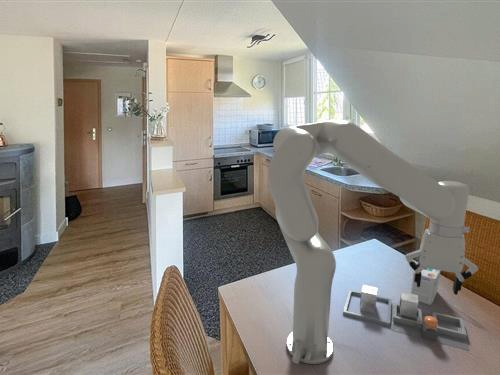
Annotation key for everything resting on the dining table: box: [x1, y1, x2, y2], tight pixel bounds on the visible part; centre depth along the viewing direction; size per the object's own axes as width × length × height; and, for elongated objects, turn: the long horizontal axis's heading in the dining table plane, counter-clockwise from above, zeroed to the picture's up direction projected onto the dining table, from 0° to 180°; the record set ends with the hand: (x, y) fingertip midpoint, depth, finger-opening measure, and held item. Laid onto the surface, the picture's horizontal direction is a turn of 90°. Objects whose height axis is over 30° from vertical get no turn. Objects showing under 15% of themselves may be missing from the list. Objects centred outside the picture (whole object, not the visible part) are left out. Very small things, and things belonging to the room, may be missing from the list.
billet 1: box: [359, 284, 379, 315], centre depth 103 cm, size 4×5×7 cm
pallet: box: [391, 302, 470, 352], centre depth 95 cm, size 13×19×4 cm
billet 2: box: [399, 291, 419, 321], centre depth 98 cm, size 4×5×7 cm
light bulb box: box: [410, 268, 441, 306], centre depth 110 cm, size 11×7×11 cm, turn 141°
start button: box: [424, 316, 438, 328], centre depth 90 cm, size 3×3×2 cm
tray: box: [342, 289, 393, 327], centre depth 104 cm, size 14×14×2 cm
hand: (436, 288), depth 87 cm, fingers open, 8 cm apart
